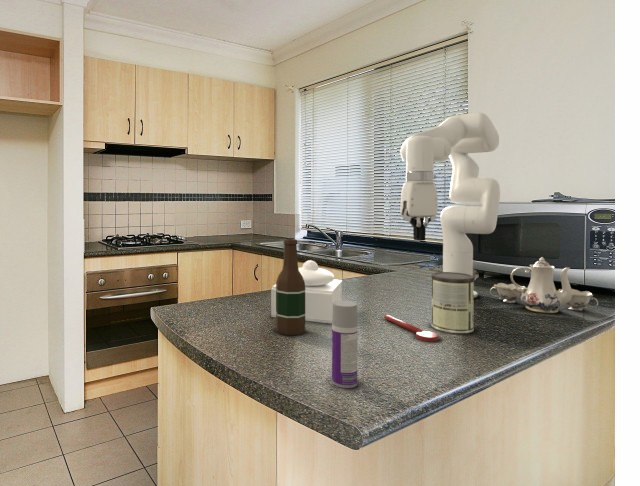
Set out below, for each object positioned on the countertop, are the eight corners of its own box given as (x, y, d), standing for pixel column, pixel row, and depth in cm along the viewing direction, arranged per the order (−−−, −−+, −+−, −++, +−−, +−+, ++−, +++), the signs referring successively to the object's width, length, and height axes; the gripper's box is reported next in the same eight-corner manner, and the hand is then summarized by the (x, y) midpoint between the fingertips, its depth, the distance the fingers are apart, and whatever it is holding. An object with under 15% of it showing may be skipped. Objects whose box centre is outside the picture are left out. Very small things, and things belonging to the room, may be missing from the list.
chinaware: (591, 312, 137) (591, 259, 138) (605, 319, 123) (604, 260, 124) (489, 302, 150) (489, 253, 152) (491, 308, 136) (491, 254, 137)
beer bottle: (308, 328, 116) (308, 238, 115) (302, 337, 108) (302, 241, 108) (279, 325, 118) (279, 237, 118) (272, 334, 111) (272, 240, 111)
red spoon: (378, 319, 124) (378, 314, 124) (393, 318, 125) (393, 313, 125) (425, 342, 105) (425, 336, 105) (442, 340, 106) (443, 334, 106)
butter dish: (271, 316, 127) (271, 262, 126) (288, 302, 143) (288, 254, 143) (331, 323, 120) (332, 266, 120) (342, 308, 137) (342, 257, 136)
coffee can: (425, 321, 122) (425, 271, 121) (463, 322, 121) (464, 272, 121) (439, 333, 111) (439, 278, 111) (481, 334, 111) (481, 279, 110)
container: (328, 378, 84) (328, 300, 84) (352, 377, 85) (352, 300, 84) (336, 388, 80) (336, 307, 79) (361, 387, 80) (361, 306, 80)
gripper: (432, 179, 135) (431, 238, 135) (390, 178, 131) (389, 239, 131) (450, 178, 127) (449, 240, 128) (405, 177, 123) (405, 242, 124)
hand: (419, 240), depth 129 cm, fingers closed
